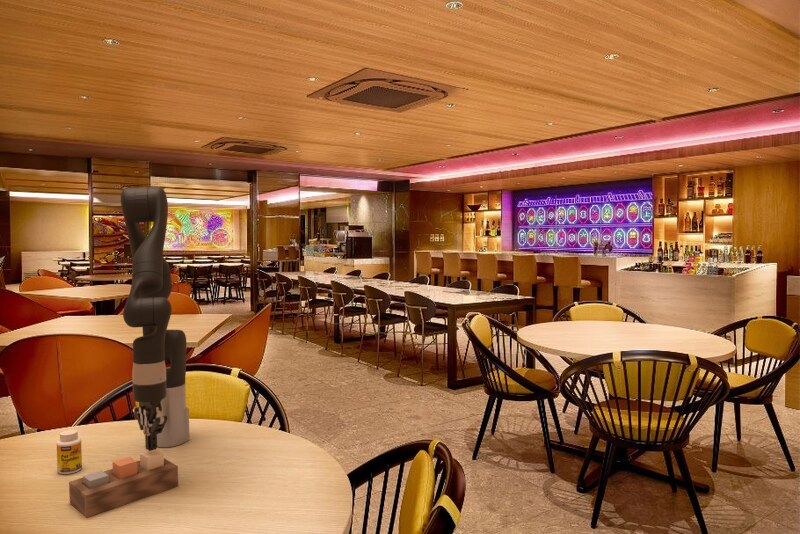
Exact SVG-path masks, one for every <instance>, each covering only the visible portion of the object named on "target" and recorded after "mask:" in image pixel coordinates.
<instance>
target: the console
mask: <svg viewBox="0 0 800 534" xmlns="http://www.w3.org/2000/svg"><path fill="white" fill-rule="evenodd" d="M136 461H137V474H136V475H132V476H129V477H126V478H123V479H120V480H119V479H118V478H116V477H115V476H113V468H110V469H107V470H104V471H103V470H102V471H103V472H104V473H106V474H107V475H109V483H107V484H104V485H101V486H98V487H94V488H91V489H89V488H87V487H86V486H85V485H83V477H81V478H77V479H74V480H70V481H69V482H68V494H69V495H68V496H69V504H70V505H72V506H73V508H75V509H76V510H77V511H78V512H79V513H81V514H82V515H83V517H85V518H89V517H93V516H96V515H98V514H102V513H103V512H107V511H110V510H113V509H116V508H119V507H122V506H124V505H127V504H129V503H133V502H136V501H139V500H141V499H144V498H149V496H153V495H156V494H159V493H161V492H164V491H168V490H171V489H173V488H177V487H179V468H178V465H177V464H175V463H173V462H172V461H169V460H168V459H166V458H164V466H161V467H158V468H155V469H152V470H148V471H146V470H145V469H143V468H142V467H140V460H136Z"/></svg>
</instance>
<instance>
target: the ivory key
mask: <svg viewBox="0 0 800 534" xmlns="http://www.w3.org/2000/svg"><path fill="white" fill-rule="evenodd" d="M164 455H165V454H164V452H163V451H160V450H159V449H155V450H152V451H149V450H147V451H145V452H141V453H139V461H140V467H142V468H143V469H145V470H146V471H148V470H152V469H155V468H158V467H161V466H164Z"/></svg>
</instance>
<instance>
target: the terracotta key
mask: <svg viewBox="0 0 800 534" xmlns="http://www.w3.org/2000/svg"><path fill="white" fill-rule="evenodd" d="M137 461H138V460H136V459H134V458H133V457H131V456H127V457H123V458H120V459H117V460H114V461H112V469H113V476H115V477H116V478H118V479H119V480H120V479H123V478H126V477H129V476H132V475H136V474H137Z"/></svg>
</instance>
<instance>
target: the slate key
mask: <svg viewBox="0 0 800 534" xmlns="http://www.w3.org/2000/svg"><path fill="white" fill-rule="evenodd" d="M82 478H83V485H85V486H86V487H87V488H89V489H91V488H94V487H98V486H101V485H104V484H107V483H109V475H107V474H106V473H104V472H103V470H99V471H95V472H91V473H88V474H85V475H82Z"/></svg>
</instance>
